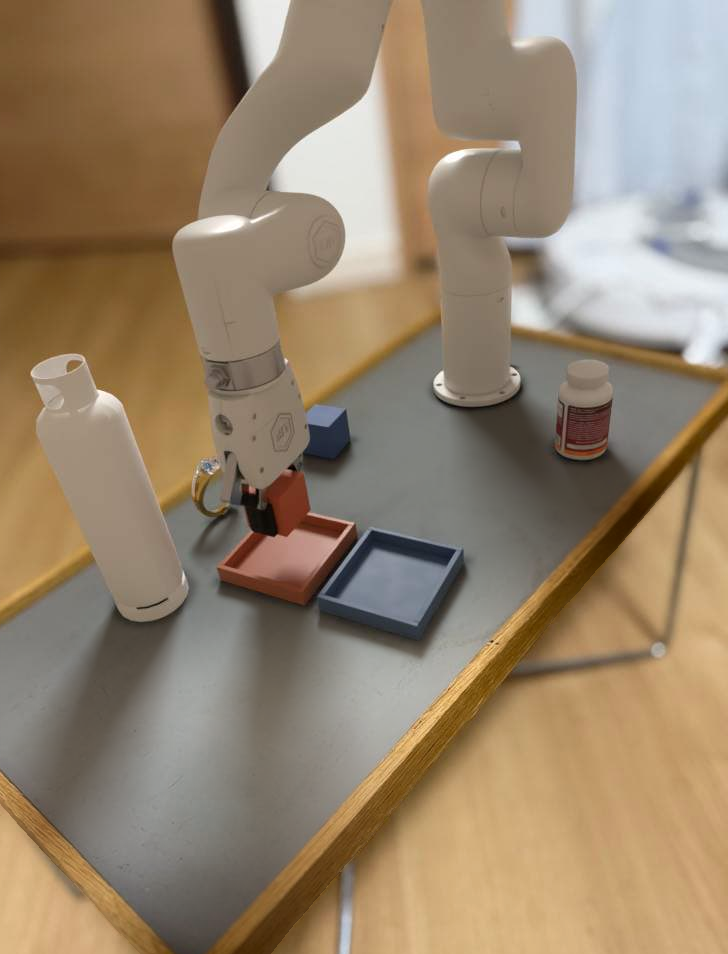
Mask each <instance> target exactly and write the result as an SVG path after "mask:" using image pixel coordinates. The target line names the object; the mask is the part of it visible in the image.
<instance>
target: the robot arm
mask: <svg viewBox="0 0 728 954" xmlns="http://www.w3.org/2000/svg"><path fill="white" fill-rule="evenodd" d="M393 1H394V0H289V4H288V9H287V12H286V15H285V20H284V25H283V29H282V33H281V37H280V41H279V44H278V47H277V49H276V52H275V55H274V57H273V58H272V60H271V61H270V62H269V64H268V65H267V66H266V68H264V70H263V71H262V72H261V73H260V75H258V77H257V78H256V79H255V81H254V82H253V83H252V84H251V86H249V89H248V90H247V91H246V93H245V94H244V95H243V97H242V98H241V99H240V101H239V103H238V104H237V106H236V107H235V108H234V110H233V111H232V113H231V114H230V115H229V117H228V118H227V120H226V122H225V123H224V125H223V126H222V128H221V130H220V132H219V134H218V136H217V138H216V140H215V142H214V145H213V147H212V151H211V155H210V157H209V161H208V165H207V168H206V173H205V177H204V180H203V185H202V189H201V194H200V199H199V204H198V212H197V220H196V221H193V222H191V223H188V224H186V225H184V226H183V227H182V228H180V229H179V230H178V231H177V232H176V234H174V237H173V239H172V244H171V245H172V246H171V247H172V248H171V249H172V256H173V260H174V264H175V268H176V271H177V276H178V278H179V283H180V286H181V290H182V295H183V298H184V302H185V305H186V309H187V312H188V313H187V314H188V317H189V319H190V323H191V327H192V330H193V334H194V338H195V341H196V345H197V349H198V352H199V356H200V361H201V365H202V369H203V372H204V375H205V377H204V378H203V384H204V386H205V387H206V388H207V389H208V391H207V403H208V413H209V420H210V428H211V432H212V433H211V434H212V439H213V445H214V449H215V452H216V453H215V454H216V458H217V457H218V461H219V464H220V467H221V469H220V470H221V473H222V475H223V478H222V479H223V480H222V484H221V489H220V495H219V501H220V502H221V503H229V504H233V506H234V505H236V506H245V509H246V513H247V517H248V520H249V524H250V527H249V529H250V530H252V531H253V532H256V533H259V534H263V535H267V536H271V537H275V536H276V535H277V534H278V529H277V525H276V521H275V517H274V512H273V508H272V505H271V504H267V487H268V486H269V485H271V484H272V483H273V482H274V481H275V480H276V479H277V478H278V477H279V476H280V475H281V474H282V473H283V472H284V471H285V470H286V469H288V470H293V471H298V472H302V470H303V467H304V466H303V465H304V464H303V461H302V459H301V457H302V454H303V451H304V450H305V448H306V447H307V445H308V443H309V441H310V434H309V428H308V423H307V418H306V410H305V405H304V402H303V398H302V394H301V390H300V388H299V385H298V381H297V378H296V375H295V373H294V370H293V369H292V367H291V364H290V362H289V360H288V359H287V358H285V354H284V349H283V343H282V339H281V338H282V337H281V333H280V328H279V323H278V318H277V312H276V307H275V302H274V299H275V297H276V296H277V295H279V294H283V293H285V292H289V291H292V290H296V289H300V288H302V287H308V286H310V285H312V284H314V283H317V282H319V281H320V280H322V279H324V278H325V277H327V276H328V275H329V274H330V273H331V272H332V271H333V270H334V269H335V268H336V266H337V265H338V263H339V261H340V260H341V258H342V255H343V253H344V250H345V246H346V228H345V227H346V226H345V223H344V220H343V218H342V215H341V214H340V212H339V210H338V209H337V208H336V207H335V206H334V204H332V203H331V202H330V201H329V200H327V199H325V198H323V197H322V196H319V195H316V194H313V193H305V192H293V191H291V192H290V191H280V190H267V188H268V186H269V183H270V181H271V178H272V177H273V174H274V172H275V171H276V170H277V168H278V166H279V164H280V163H281V161H282V160H283V159H284V158H285V156H286V155H287V154H288V153H289V152H290V151H291V150H292V149H293V148H294V147H295V146H296V145H297V144H299V143H300V142H301V141H302V140H303V139H304V138H307V136H309V135H311V134H312V133H313V132H315V131H317V130H318V129H320V128H322V127H323V126H325V125H327V124H328V123H330V122H332V121H333V120H334V119H336V118H338V117H339V116H341V115H342V114H344V113H345V112H347V111H348V110H350V109H351V108H353V107H354V106H355V105H357V104H358V103H359V102H360V101H361V100H362V99H363V98H364V97H365V95H366V94H367V92H368V91H369V88H370V86H371V84H372V79H373V74H374V71H375V68H376V63H377V59H378V57H379V52H380V49H381V44H382V40H383V37H384V33H385V31H386V30H385V29H386V26H387V23H388V18H389V15H390V11H391V8H392V5H393ZM419 1H420V4H421V9H422V14H423V21H424V31H425V39H426V40H425V41H426V52H427V53H426V54H427V61H428V62H427V64H428V74H429V85H430V97H431V105H432V111H433V118H434V121H435V126H436V127H437V129H438V131H439V132H440V133H441V135H443V136H444V137H446V138H447V139H451V140H456V141H468V142H470V141H471V142H482V141H483V142H488V141H490V142H492V141H493V142H494V141H495V142H497V141H498V142H501V141H502V142H503V141H504V142H505V141H507V142H517V143H518V146H519V148H505V147H503V148H498V147H497V148H495V147H494V148H492V147H491V148H489V147H487V148H485V147H484V148H480V147H479V148H465V149H460V150H456V151H452V152H450V153H448V154H446V155H445V156H444V157H443V158H441V159H440V160H439V161H438V162H437V163H436V165H435V166H434V168H433V170H431V171H432V172H431V174H430V176H429V180H428V185H427V200H428V201H427V202H428V210H429V214H430V219H431V222H432V226H433V227H432V228H433V231H434V236H435V242H436V248H437V258H438V272H439V297H440V298H439V299H440V300H439V301H440V319H441V321H440V323H441V344H442V345H441V347H442V369H443V370H441V371H440V372H439V373H438V374H437V375H436V376H435V377H434V379H433V383H432V385H433V392H434V394H435V396H436V397H437V398H438V399H440V400H442V401H443V402H445V403H447V404H449V405H453V406H457V407H465V408H478V407H479V408H480V407H481V408H482V407H488V406H493V405H497V404H500V403H503V402H505V401H507V400H509V399H511V398H512V397H513V396H515V395H516V394H517V393H518V392H519V390H520V388H521V382H522V381H521V374H520V373H519V371H518V370H516V369H515V368H514V367H513V366H511V346H512V339H511V336H512V301H513V300H512V295H513V263H512V258H511V254H510V251H509V249H508V246H507V245H506V243H505V240H504V239H503V237H504V238H516V239H545V238H548V237H551V236H553V235H555V234H556V233H558V232H559V231H560V230H561V229H562V227H563V226H564V225H565V223H566V222H567V219H568V217H569V214H570V211H571V208H572V202H573V196H574V188H575V187H574V186H575V168H576V167H575V164H576V137H577V136H576V135H577V109H578V76H577V69H576V63H575V60H574V56H573V54H572V52H571V49H570V47H568V45H567V44H566V43H565V42H564V41H562V39H559V38H557V37H554V36H549V35H533V36H524V37H513V38H512V37H511V36H510V35H509V32H508V27H507V14H506V13H507V11H506V0H419ZM249 485H250V486H251V487H253V488H255V489H256V496H254V495H251V494H249Z"/></svg>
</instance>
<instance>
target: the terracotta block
mask: <svg viewBox="0 0 728 954" xmlns="http://www.w3.org/2000/svg"><path fill="white" fill-rule="evenodd" d="M305 477H306V476H305V473H304V472H302V471H300V472H298V471H293V470H288V469H286V470H285V471H284V472H283V473H282V474H281V475H280V476H279V477H278V478H277V479H276V480H275V481H274V482H273V483H272V484H271V485H269V486H268V487H267V504H271V505H272V508H273V512H274V517H275V521H276V525H277V529H278V534H277V535H281V536H285V537H288V536H289V535H290V533H291V532H292V531H293V530H294V529H295V528H296V527H297V525H298V524H299V523H300V522H301V521H302V520H303V518H304V517H305V516H306V515H307V514H308V513H309V512H311V510H312V509H311V504H310V499H309V494H308V488H307V483H306V478H305ZM249 494H251V495H254V496H256V489H255V488H253V487H251V486H250V485H249ZM242 506H243V505H242ZM243 511H244V514H245V517H246V521H247V526H248V528H250V524H249V520H248V517H247V513H246V509H245V506H243Z"/></svg>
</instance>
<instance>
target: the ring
mask: <svg viewBox="0 0 728 954" xmlns="http://www.w3.org/2000/svg"><path fill="white" fill-rule="evenodd" d="M220 470H221V467H220V464H219V461H218V457H217V456H216V458H215V455H211V457H210V456H206V459H204V458H202V459H200V462H199V463H198V464H197V465H196V467H195V471H194V473H193V476H192V480H191V499H192V502H193V505H194V507H195V509H196V510H197V511H198V512H199V513H201V514H202V515H204V516H206V517H208V518H217V517H220V516H222V515H223V516H225V515H227V514H228V513H229V510H230V509H231V508H232V507H233V506H234V504H229V503H225V502H223V504H222V503H221V504H219V505H218V506H217V508H216V509H214V510H213V509H212V510H207V508H206V507H205V505H204V497H205V493H206V490H207V488H208V486H209V484H210V482H211V480H212V479H213V477H214V475H215V474H217V472H218V471H220ZM202 474H203V475H206V474H207V475H206V476H205V477H204V478H203V479H202V481H201V482H200V479H201V476H202Z"/></svg>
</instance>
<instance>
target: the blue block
mask: <svg viewBox="0 0 728 954" xmlns="http://www.w3.org/2000/svg"><path fill="white" fill-rule="evenodd" d="M305 413H306V418H307V423H308V428H309V434H310V441H309V443H308V445H307V447H306V448H305V450H304V451H303V452H302V454H305V455H311V456H316V457H320V458H326V459H331V460H334V459H336V457H337V456H338V455H339V454H340V453H341V451H342V450H343V449H344V448H345V447H346V446H347V445H348V444H349V443H350V441H352V439H351V433H350V432H351V431H350V426H349V425H350V424H349V419H348V412H347V408H344V407H336V406H331V405H324V404H318V403H315V404H313V406H311V408H309V409H308V410H307V411H305Z"/></svg>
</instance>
